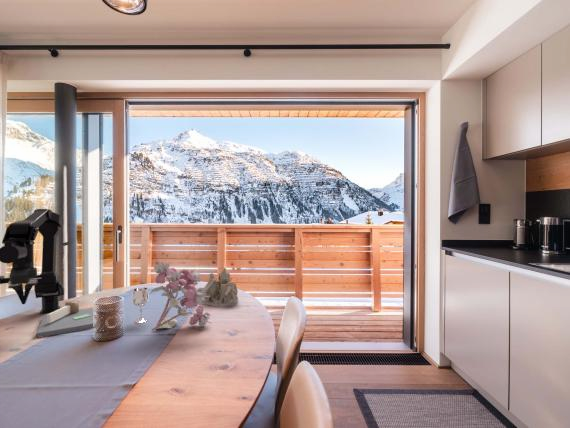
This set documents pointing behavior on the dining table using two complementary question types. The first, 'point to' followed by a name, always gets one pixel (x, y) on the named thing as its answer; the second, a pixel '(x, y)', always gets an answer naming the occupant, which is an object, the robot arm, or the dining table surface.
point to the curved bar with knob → (63, 311)
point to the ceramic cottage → (221, 291)
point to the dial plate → (67, 323)
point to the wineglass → (140, 301)
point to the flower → (188, 301)
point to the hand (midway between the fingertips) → (23, 303)
